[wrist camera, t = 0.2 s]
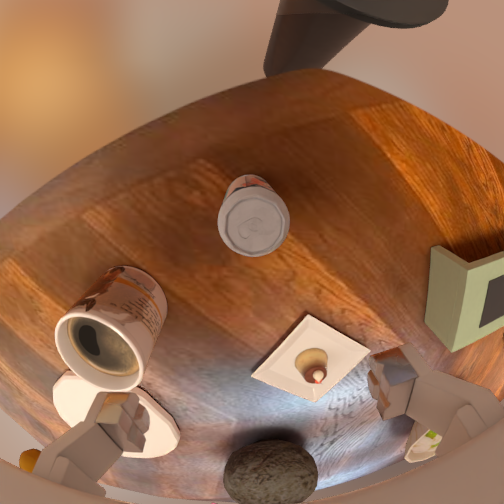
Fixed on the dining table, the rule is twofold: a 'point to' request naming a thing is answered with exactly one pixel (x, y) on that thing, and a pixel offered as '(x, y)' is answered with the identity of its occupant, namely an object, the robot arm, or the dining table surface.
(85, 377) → the mug
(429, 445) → the bowl
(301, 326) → the dessert
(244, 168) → the dining table surface
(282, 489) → the vase
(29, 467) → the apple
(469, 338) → the shelf
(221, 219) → the beer can
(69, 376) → the decorative plate
